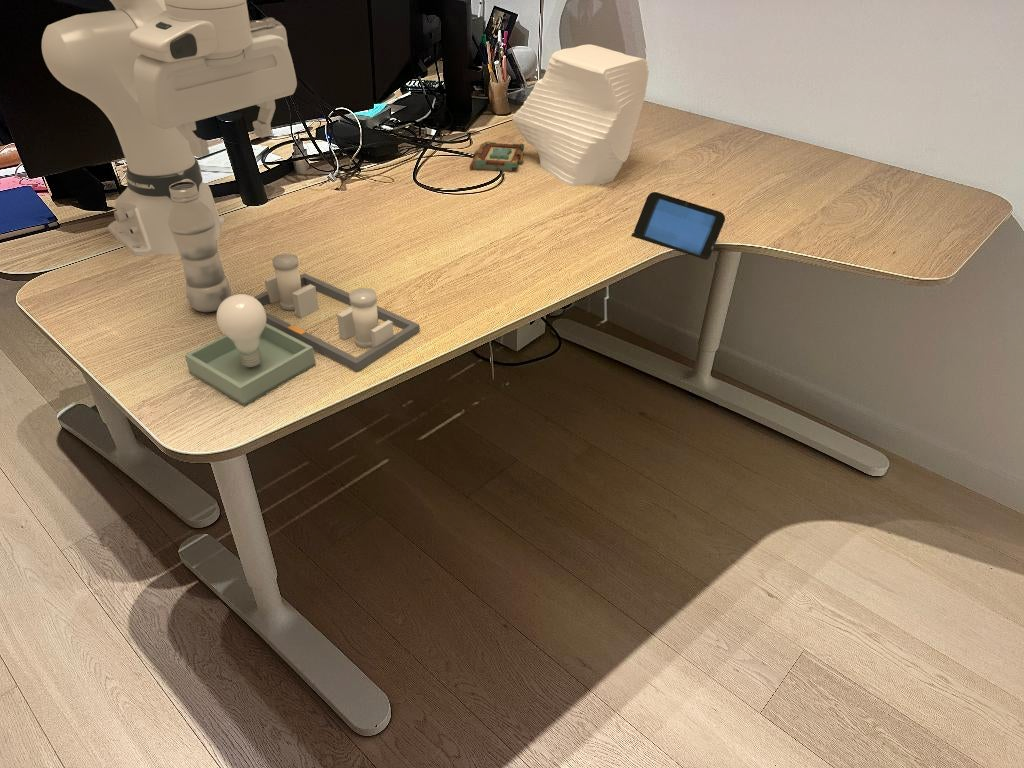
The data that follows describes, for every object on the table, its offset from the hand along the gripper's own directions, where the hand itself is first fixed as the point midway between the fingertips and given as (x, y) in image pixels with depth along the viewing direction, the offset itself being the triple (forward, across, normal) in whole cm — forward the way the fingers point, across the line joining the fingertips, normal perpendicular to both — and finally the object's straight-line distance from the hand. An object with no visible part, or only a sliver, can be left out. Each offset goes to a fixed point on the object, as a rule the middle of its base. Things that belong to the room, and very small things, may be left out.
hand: (233, 145), depth 96 cm
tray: (+28, +8, +6) cm, 30 cm away
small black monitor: (+28, -60, +35) cm, 75 cm away
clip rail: (+29, -8, +5) cm, 30 cm away
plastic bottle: (+29, +1, -13) cm, 32 cm away
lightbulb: (+28, +8, +6) cm, 30 cm away
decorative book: (+30, -75, -14) cm, 82 cm away
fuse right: (+28, -8, +14) cm, 32 cm away
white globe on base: (+29, -7, -3) cm, 30 cm away
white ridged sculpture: (+30, -86, 0) cm, 90 cm away
